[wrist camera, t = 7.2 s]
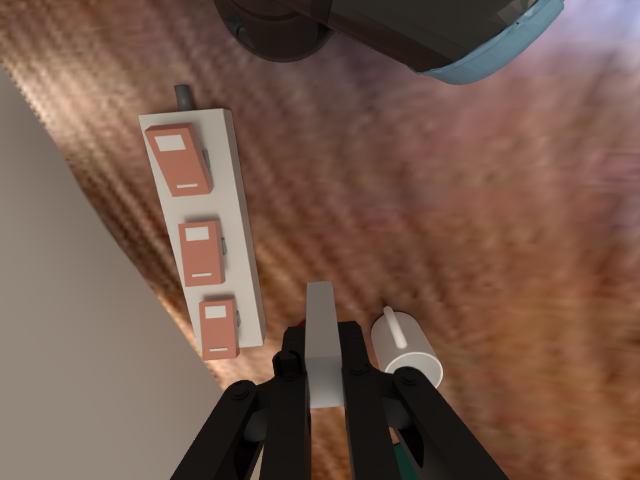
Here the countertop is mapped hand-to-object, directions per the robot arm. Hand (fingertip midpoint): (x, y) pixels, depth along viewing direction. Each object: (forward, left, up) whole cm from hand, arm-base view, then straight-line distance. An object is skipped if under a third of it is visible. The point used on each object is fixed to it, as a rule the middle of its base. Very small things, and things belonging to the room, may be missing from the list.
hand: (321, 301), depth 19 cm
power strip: (+2, -15, -26) cm, 30 cm away
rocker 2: (+3, -15, -20) cm, 25 cm away
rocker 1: (-8, -15, -20) cm, 26 cm away
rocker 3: (+15, -15, -20) cm, 29 cm away
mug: (+21, +11, -27) cm, 36 cm away
